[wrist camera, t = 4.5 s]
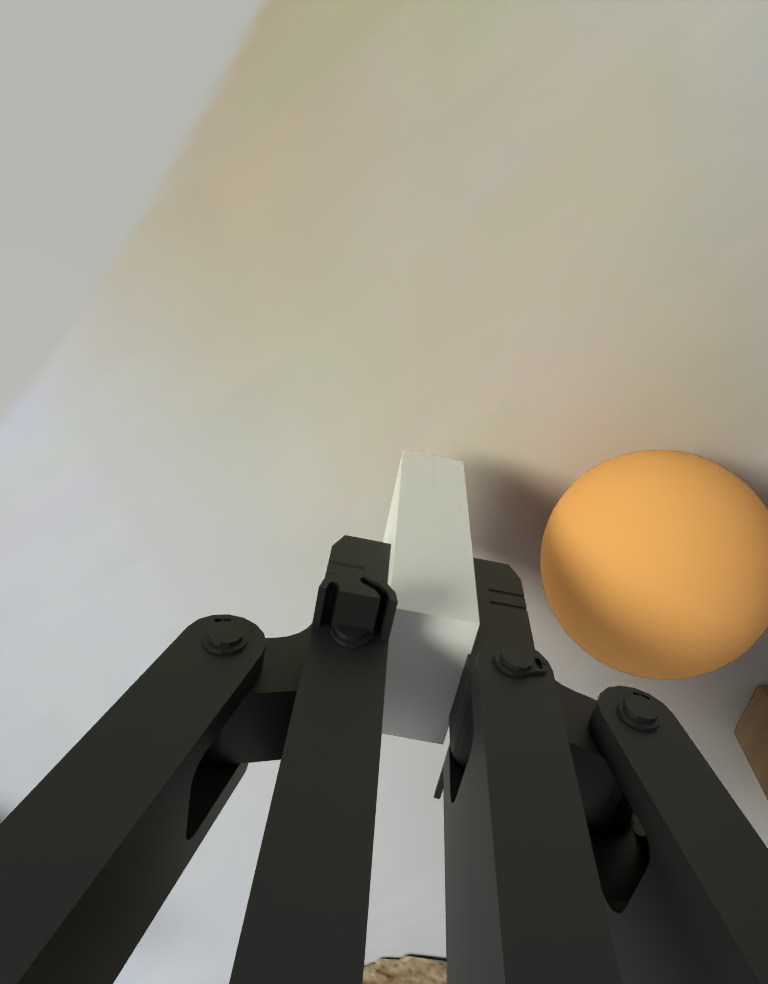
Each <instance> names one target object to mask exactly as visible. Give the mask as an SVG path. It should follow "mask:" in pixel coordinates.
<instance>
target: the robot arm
mask: <svg viewBox="0 0 768 984" xmlns="http://www.w3.org/2000/svg"><path fill="white" fill-rule="evenodd" d="M448 726H449V730H450V745H449V748H448V751H447V754H446V758H445V761H444V764H443V767H442V771H441V774H440V777H439V780H438V784H437V787H436V791H435V795H434V798H437V799H440V797H441V794H442V791H443V789H444V842H445V900H446V957H447V984H622V981H623V984H768V848H767V847H766V845H765V844H764V843H763V841H762V840H761V838H760V837H759V835H758V834H757V833H756V831H755V830H754V828H753V827H752V825H751V824H750V823H749V821H748V820H747V818H746V817H745V816H744V814H743V813H742V811H741V810H740V808H739V807H738V806H737V804H736V803H735V801H734V800H733V798H732V797H731V796H730V794H729V793H728V791H727V790H726V788H725V787H724V786H723V784H722V783H721V781H720V780H719V778H718V777H717V776H716V774H715V773H714V771H713V770H712V768H711V767H710V766H709V764H708V763H707V761H706V760H705V758H704V757H703V756H702V754H701V753H700V751H699V750H698V749H697V747H696V746H695V744H694V743H693V741H692V740H691V739H690V737H689V736H688V734H687V733H686V731H685V730H684V729H683V727H682V726H681V724H680V723H679V721H678V720H677V719H676V717H675V716H674V714H673V713H672V712H671V711H670V710H669V709H668V708H667V707H666V706H665V705H664V704H663V703H662V702H660V701H659V700H657V699H656V698H654V697H653V696H651V695H650V694H648V693H645V692H643V691H640V690H638V689H635V688H631V687H625V686H615V687H609V688H607V689H605V690H604V691H603V692H601V693H600V695H599V698H598V700H595V699H592V698H590V697H587V696H585V695H583V694H580V693H578V692H575V691H573V690H571V689H569V688H567V687H565V686H563V685H561V684H560V683H559V682H557V681H556V680H555V679H554V674H553V671H552V668H551V666H550V664H549V662H548V661H547V660H546V659H545V658H544V657H543V656H542V655H541V654H540V653H539V652H538V651H536V650H535V647H534V642H533V637H532V632H531V627H530V622H529V618H528V613H527V611H526V603H525V598H524V593H523V588H522V583H521V579H520V578H519V577H518V576H517V574H516V573H515V572H514V571H513V569H512V568H511V567H510V566H509V565H508V564H502V563H497V562H492V561H487V560H481V559H476V558H473V553H472V543H471V533H470V523H469V513H468V503H467V493H466V483H465V473H464V463H463V461H459V460H454V459H449V458H444V457H439V456H434V455H429V454H424V453H418V452H413V451H408V450H403V452H402V457H401V461H400V466H399V470H398V475H397V480H396V484H395V489H394V494H393V498H392V503H391V507H390V512H389V517H388V521H387V526H386V530H385V535H384V540H383V542H378V541H373V540H367V539H362V538H357V537H352V536H347V535H345V536H343V537H342V538H341V539H340V540H339V541H338V542H336V543H335V544H334V545H333V546H332V550H331V554H330V558H329V563H328V567H327V571H326V575H325V579H324V580H323V581H322V583H321V585H320V586H319V590H318V595H317V601H316V607H315V612H314V618H313V623H312V624H311V625H310V626H309V627H308V628H307V629H305V630H304V631H302V632H300V633H298V634H295V635H291V636H288V637H279V638H265V636H264V633H263V632H262V631H261V630H260V628H259V627H258V626H257V625H256V624H254V623H252V622H250V621H249V620H247V619H245V618H242V617H237V616H233V615H211V616H208V617H204V618H201V619H198V620H197V621H195V622H194V623H192V624H191V625H189V626H188V627H187V628H186V629H185V630H184V631H183V632H182V633H181V634H180V635H179V636H178V637H177V638H176V640H175V641H174V642H173V643H172V644H171V645H170V646H169V647H168V648H167V649H166V650H165V651H164V652H163V653H162V654H161V655H160V656H159V657H158V658H157V660H156V661H155V662H154V663H153V664H152V665H151V666H150V667H149V668H148V669H147V670H146V671H145V672H144V673H143V674H142V675H141V676H140V677H139V678H138V680H137V681H136V682H135V683H134V684H133V685H132V686H131V687H130V688H129V689H128V690H127V691H126V692H125V693H124V694H123V695H122V696H121V697H120V698H119V700H118V701H117V702H116V703H115V704H114V705H113V706H112V707H111V708H110V709H109V710H108V711H107V712H106V713H105V714H104V715H103V716H102V717H101V718H100V720H99V721H98V722H97V723H96V724H95V725H94V726H93V727H92V728H91V729H90V730H89V731H88V732H87V733H86V734H85V735H84V736H83V737H82V738H81V740H80V741H79V742H78V743H77V744H76V745H75V746H74V747H73V748H72V749H71V750H70V751H69V752H68V753H67V754H66V755H65V756H64V757H63V758H62V760H61V761H60V762H59V763H58V764H57V765H56V766H55V767H54V768H53V769H52V770H51V771H50V772H49V773H48V774H47V775H46V776H45V777H44V778H43V780H42V781H41V782H40V783H39V784H38V785H37V786H36V787H35V788H34V789H33V790H32V791H31V792H30V793H29V794H28V795H27V796H26V797H25V798H24V800H23V801H22V802H21V803H20V804H19V805H18V806H17V807H16V808H15V809H14V810H13V811H12V812H11V813H10V814H9V815H8V816H7V817H6V819H5V820H4V821H3V822H2V823H1V824H0V984H113V983H114V981H115V980H116V978H117V976H118V975H119V973H120V972H121V970H122V968H123V967H124V965H125V964H126V962H127V960H128V959H129V957H130V956H131V954H132V952H133V951H134V949H135V948H136V946H137V944H138V943H139V941H140V940H141V938H142V936H143V935H144V933H145V932H146V930H147V928H148V927H149V925H150V924H151V922H152V920H153V919H154V917H155V916H156V914H157V912H158V911H159V909H160V908H161V906H162V904H163V903H164V901H165V900H166V898H167V896H168V895H169V893H170V892H171V890H172V888H173V887H174V885H175V884H176V882H177V880H178V879H179V877H180V876H181V874H182V872H183V871H184V869H185V868H186V866H187V864H188V863H189V861H190V860H191V858H192V856H193V855H194V853H195V852H196V850H197V848H198V847H199V845H200V844H201V842H202V840H203V839H204V837H205V836H206V834H207V832H208V831H209V829H210V828H211V826H212V824H213V823H214V821H215V820H216V818H217V816H218V815H219V813H220V812H221V810H222V808H223V807H224V805H225V804H226V802H227V800H228V799H229V797H230V796H231V794H232V792H233V791H234V789H235V788H236V786H237V784H238V783H239V781H240V780H241V778H242V776H243V775H244V773H245V772H246V769H247V766H248V763H249V762H260V761H270V760H280V759H281V762H280V767H279V771H278V775H277V780H276V784H275V788H274V793H273V797H272V801H271V805H270V810H269V814H268V818H267V823H266V827H265V831H264V836H263V840H262V844H261V849H260V853H259V857H258V861H257V866H256V870H255V874H254V879H253V883H252V887H251V892H250V896H249V900H248V905H247V909H246V913H245V918H244V922H243V926H242V930H241V935H240V939H239V943H238V948H237V952H236V956H235V961H234V965H233V969H232V974H231V978H230V982H229V984H363V971H364V958H365V945H366V932H367V919H368V906H369V892H370V879H371V866H372V853H373V840H374V827H375V814H376V800H377V787H378V774H379V761H380V748H381V735H382V733H383V734H388V735H394V736H399V737H405V738H410V739H416V740H421V741H427V742H432V743H438V744H443V743H444V740H445V736H446V733H447V730H448Z"/></svg>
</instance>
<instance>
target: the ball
mask: <svg viewBox="0 0 768 984" xmlns="http://www.w3.org/2000/svg"><path fill="white" fill-rule="evenodd" d="M541 576H542V582H543V586H544V590H545V593H546V597H547V600H548V603H549V605H550V607H551V609H552V611H553V613H554V615H555V616H556V618H557V620H558V621H559V623H560V624H561V626H562V627H563V629H564V630H565V631H566V633H567V634H568V635H569V636H570V637H571V639H572V640H573V641H575V642H576V643H577V644H578V645H579V646H580V647H581V648H582V649H583V650H584V651H586V652H587V653H588V654H590V655H591V656H592V657H594V658H595V659H597V660H598V661H600V662H602V663H604V664H605V665H607V666H609V667H612V668H614V669H616V670H619V671H621V672H624V673H628V674H631V675H634V676H639V677H644V678H649V679H661V680H671V679H683V678H690V677H694V676H698V675H702V674H705V673H708V672H711V671H714V670H717V669H719V668H721V667H723V666H725V665H727V664H729V663H730V662H732V661H733V660H735V659H737V658H738V657H740V656H741V655H742V654H743V653H744V652H746V651H747V650H748V649H749V648H750V647H751V646H752V645H753V644H754V643H755V642H756V641H757V640H758V638H759V637H760V636H761V635H762V634H763V633H764V631H765V630H766V628H767V627H768V510H767V508H766V507H765V505H764V504H763V502H762V501H761V500H760V499H759V497H758V496H757V495H756V493H755V492H754V491H753V490H752V489H751V488H750V487H749V486H748V485H747V484H746V483H745V482H744V481H743V480H741V479H740V478H738V477H737V476H736V475H734V474H733V473H731V472H730V471H729V470H727V469H726V468H724V467H722V466H720V465H718V464H716V463H714V462H712V461H710V460H707V459H705V458H702V457H700V456H696V455H692V454H688V453H684V452H678V451H670V450H648V451H639V452H633V453H629V454H625V455H621V456H618V457H615V458H613V459H610V460H607V461H605V462H603V463H601V464H599V465H598V466H596V467H594V468H592V469H591V470H589V471H588V472H586V473H585V474H584V475H582V476H581V477H580V478H579V479H578V480H577V481H576V482H574V483H573V484H572V485H571V487H570V488H569V489H568V490H567V491H566V492H565V493H564V495H563V496H562V497H561V498H560V500H559V501H558V503H557V504H556V506H555V508H554V509H553V511H552V514H551V516H550V518H549V520H548V523H547V525H546V529H545V532H544V535H543V539H542V546H541Z"/></svg>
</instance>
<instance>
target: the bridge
mask: <svg viewBox="0 0 768 984" xmlns="http://www.w3.org/2000/svg"><path fill="white" fill-rule="evenodd" d="M734 734H735V736H736V738H737V740H738V742H739V744H740V746H741V748H742V750H743V752H744V754H745V755H746V757H747V759H748V761H749V763H750V765H751V767H752V769H753V771H754V773H755V775H756V777H757V779H758V781H759V783H760V785H761V787H762V789H763V791H764V793H765V795H766V797H767V799H768V687H767V686H762V685H759V686H758V688H757V690H756V692H755V693H754V695H753V697H752V699H751V701H750V703H749V705H748V706H747V708H746V710H745V712H744V714H743V716H742V718H741V719H740V721H739V723H738V725H737V727H736V729H735V731H734Z"/></svg>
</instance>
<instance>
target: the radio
mask: <svg viewBox="0 0 768 984" xmlns="http://www.w3.org/2000/svg"><path fill="white" fill-rule="evenodd" d="M363 984H447V961H443V960H435V959H427V958H420V957H412V956H405V957H403V958H401V959H399V960H396V959H379V960H378V961H377V962H376V963H375V964H369V965H367V966H365V967H364V971H363Z"/></svg>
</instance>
